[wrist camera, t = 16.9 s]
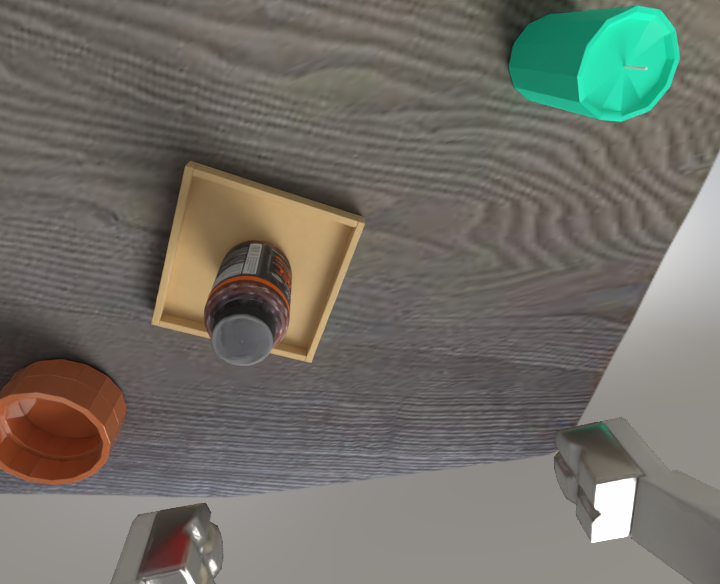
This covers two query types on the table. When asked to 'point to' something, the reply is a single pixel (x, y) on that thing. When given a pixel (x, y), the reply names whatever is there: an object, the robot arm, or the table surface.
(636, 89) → the candle
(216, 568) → the robot arm
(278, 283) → the supplement bottle
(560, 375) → the table surface
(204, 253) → the tray
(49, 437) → the bowl
